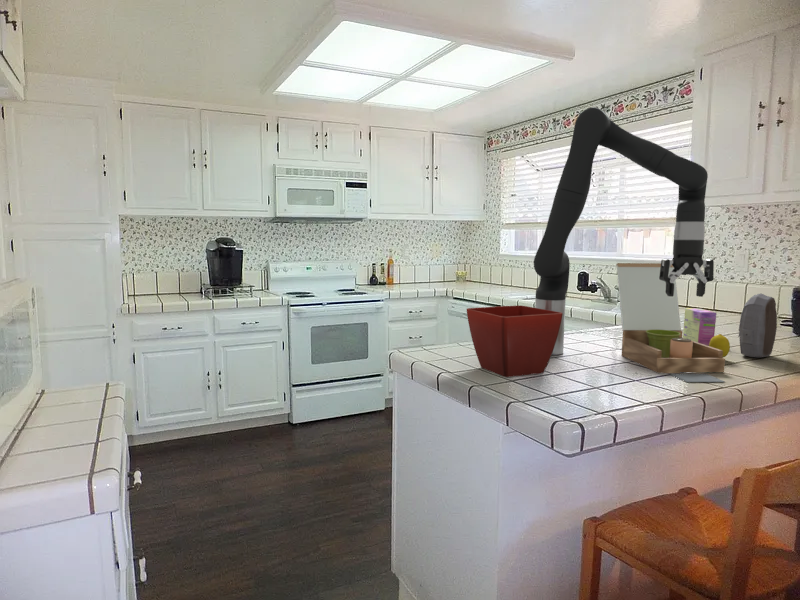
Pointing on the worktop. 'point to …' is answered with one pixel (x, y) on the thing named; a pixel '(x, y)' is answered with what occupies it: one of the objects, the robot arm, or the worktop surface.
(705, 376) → the mat
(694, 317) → the box
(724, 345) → the lemon
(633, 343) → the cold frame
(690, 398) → the worktop surface
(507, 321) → the plant pot
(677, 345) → the tan cylinder
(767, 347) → the soft grey pack
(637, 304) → the propped lid
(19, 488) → the worktop surface
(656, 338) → the plant pot
